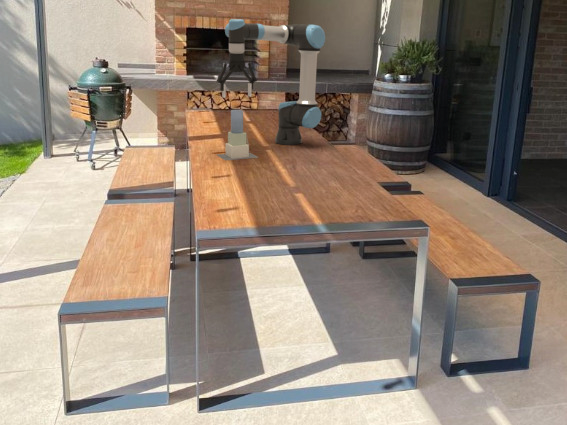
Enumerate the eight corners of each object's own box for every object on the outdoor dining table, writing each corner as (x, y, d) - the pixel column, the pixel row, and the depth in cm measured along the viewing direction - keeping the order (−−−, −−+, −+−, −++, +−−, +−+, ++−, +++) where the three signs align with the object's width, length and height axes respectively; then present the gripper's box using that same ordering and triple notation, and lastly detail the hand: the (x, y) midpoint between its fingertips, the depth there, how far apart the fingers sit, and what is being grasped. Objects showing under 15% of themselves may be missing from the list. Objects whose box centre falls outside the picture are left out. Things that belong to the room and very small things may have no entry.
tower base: (242, 153, 331) (242, 142, 329) (248, 157, 324) (248, 145, 322) (225, 154, 328) (225, 143, 326) (232, 158, 320) (231, 146, 318)
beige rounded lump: (254, 138, 339) (236, 130, 338) (246, 155, 343) (229, 147, 341) (255, 134, 348) (238, 126, 347) (247, 150, 352) (231, 142, 350)
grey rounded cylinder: (240, 131, 326) (240, 109, 322) (244, 133, 321) (244, 111, 317) (229, 131, 323) (229, 109, 320) (233, 133, 318) (233, 111, 315)
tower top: (240, 142, 328) (240, 130, 326) (246, 145, 322) (246, 133, 320) (228, 143, 325) (227, 131, 323) (233, 146, 319) (233, 134, 317)
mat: (248, 153, 336) (248, 151, 335) (259, 159, 324) (258, 157, 323) (215, 156, 328) (215, 154, 328) (225, 162, 316) (225, 160, 316)
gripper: (257, 51, 319) (257, 95, 325) (209, 52, 308) (210, 97, 315) (263, 52, 312) (263, 96, 319) (214, 53, 302) (215, 99, 308)
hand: (236, 97), depth 317 cm, fingers open, 13 cm apart
